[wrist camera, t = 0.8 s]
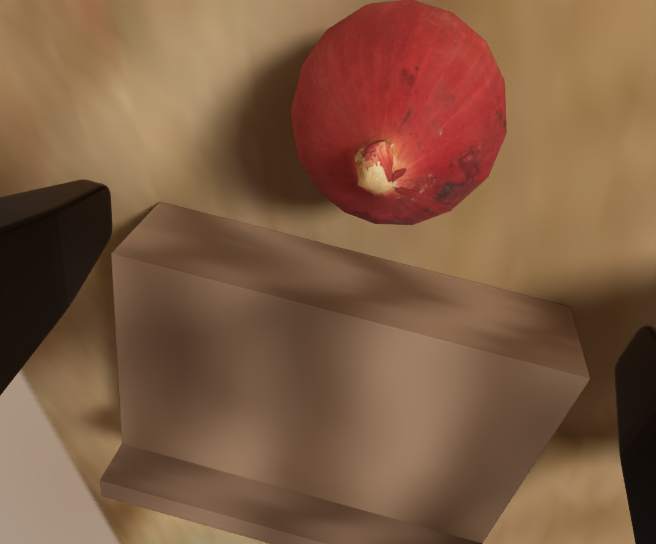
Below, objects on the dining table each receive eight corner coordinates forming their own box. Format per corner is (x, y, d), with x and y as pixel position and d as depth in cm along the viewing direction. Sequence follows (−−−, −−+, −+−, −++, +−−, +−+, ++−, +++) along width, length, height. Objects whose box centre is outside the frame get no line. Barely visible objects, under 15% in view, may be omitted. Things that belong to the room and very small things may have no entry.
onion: (538, 69, 18) (586, 176, 11) (413, 193, 21) (395, 332, 14) (397, -63, 16) (360, -30, 10) (287, 90, 19) (204, 191, 13)
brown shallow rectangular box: (570, 306, 22) (602, 424, 17) (471, 482, 29) (474, 601, 24) (159, 201, 23) (80, 286, 18) (158, 397, 30) (101, 495, 25)
